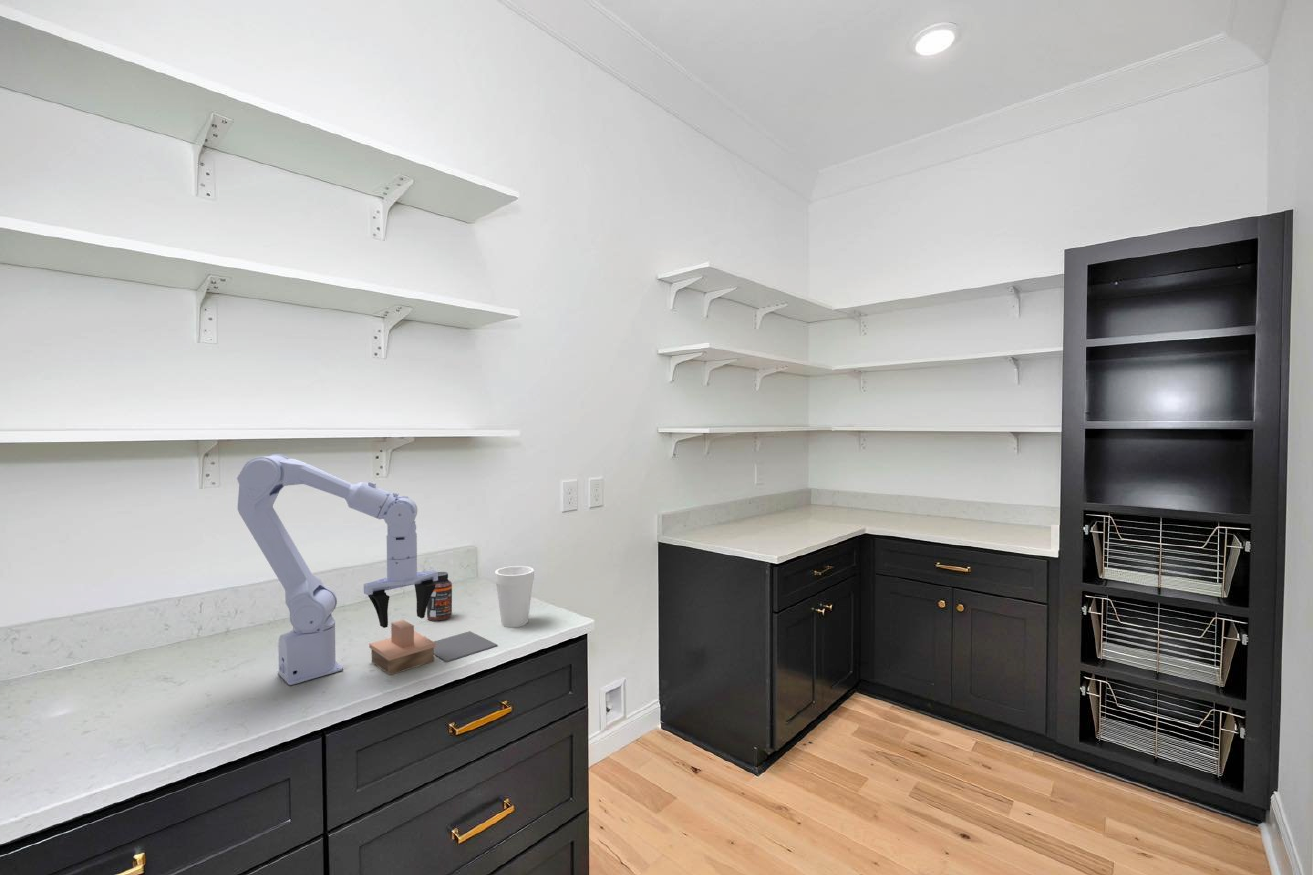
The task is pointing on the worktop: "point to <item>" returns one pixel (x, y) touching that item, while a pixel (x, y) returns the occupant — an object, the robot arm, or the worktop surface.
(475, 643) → the mat
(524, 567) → the foam cup
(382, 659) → the box
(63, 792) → the worktop surface
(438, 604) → the supplement bottle
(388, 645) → the lid
